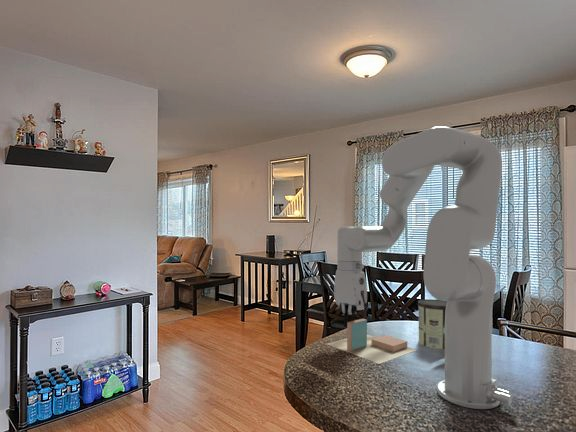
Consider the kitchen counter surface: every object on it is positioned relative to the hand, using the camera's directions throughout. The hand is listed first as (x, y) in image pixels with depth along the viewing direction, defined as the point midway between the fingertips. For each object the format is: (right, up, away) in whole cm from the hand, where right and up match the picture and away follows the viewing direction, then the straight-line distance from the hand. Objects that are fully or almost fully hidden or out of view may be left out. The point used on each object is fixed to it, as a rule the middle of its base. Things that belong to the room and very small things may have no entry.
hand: (349, 326), depth 113 cm
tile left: (+2, -6, -3) cm, 6 cm away
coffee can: (+27, -8, +2) cm, 28 cm away
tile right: (+10, -5, +2) cm, 11 cm away
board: (+6, -7, -2) cm, 9 cm away
